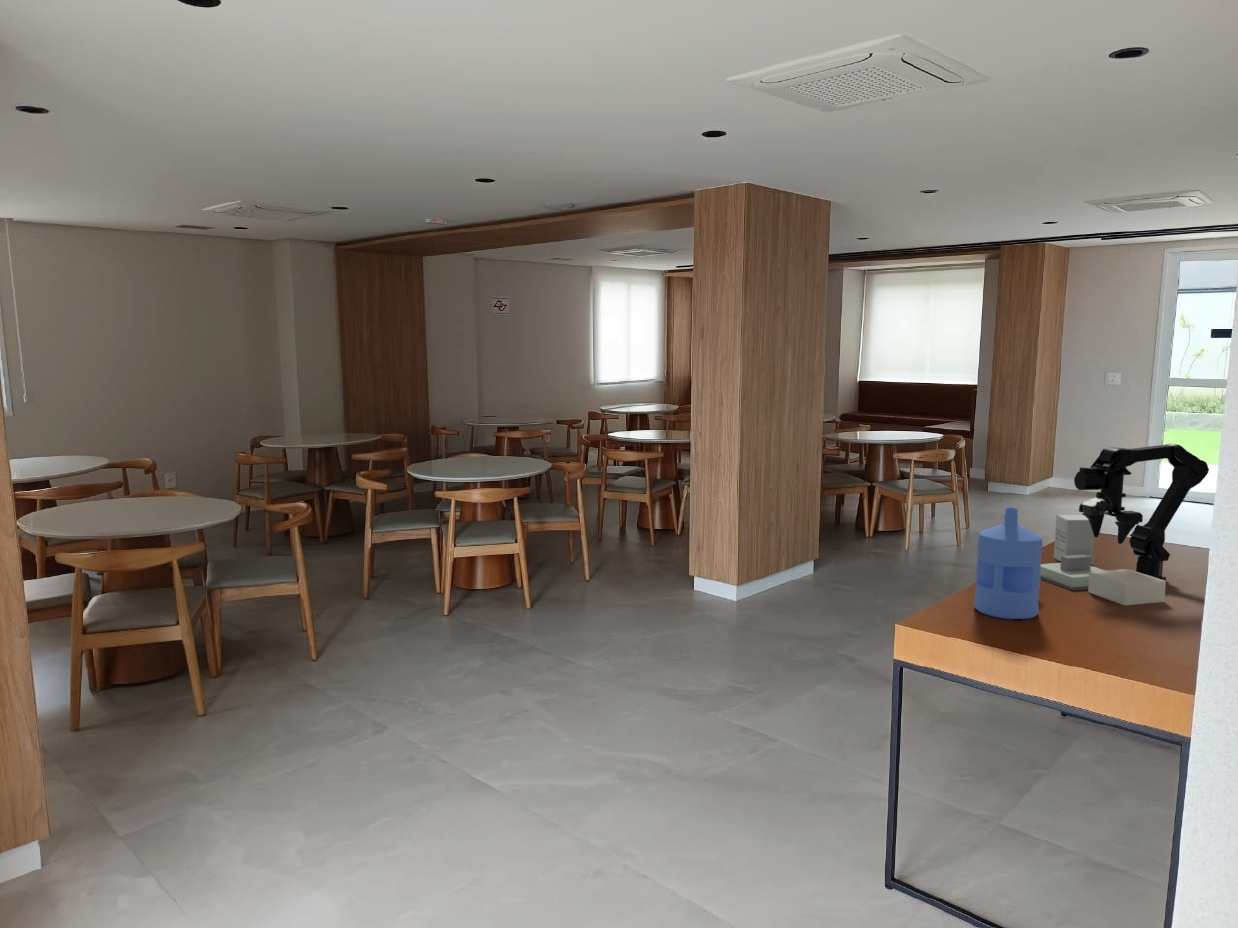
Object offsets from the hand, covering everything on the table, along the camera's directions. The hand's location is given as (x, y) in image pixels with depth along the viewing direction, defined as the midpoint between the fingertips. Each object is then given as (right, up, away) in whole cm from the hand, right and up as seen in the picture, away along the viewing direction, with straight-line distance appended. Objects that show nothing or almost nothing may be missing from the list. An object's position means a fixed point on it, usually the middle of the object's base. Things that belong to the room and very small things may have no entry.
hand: (1107, 540), depth 252 cm
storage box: (-5, -15, -17) cm, 23 cm away
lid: (-10, -12, 0) cm, 15 cm away
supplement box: (+2, -9, +22) cm, 24 cm away
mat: (-10, -12, 0) cm, 16 cm away
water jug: (-44, -17, -28) cm, 55 cm away
